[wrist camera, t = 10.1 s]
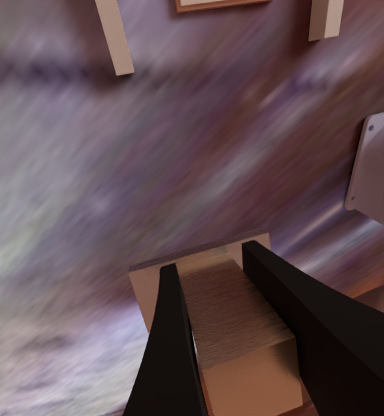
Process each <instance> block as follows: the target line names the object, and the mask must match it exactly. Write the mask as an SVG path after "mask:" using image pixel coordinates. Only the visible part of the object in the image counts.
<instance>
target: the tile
mask: <svg viewBox="0 0 384 416" xmlns="http://www.w3.org/2000/svg"><path fill="white" fill-rule="evenodd" d="M268 1H272V0H175V8H176V14H178V13H185V12H193V11H200V10H208V9H216V8H223V7H231V6H238V5H246V4H253V3H261V2H268Z"/></svg>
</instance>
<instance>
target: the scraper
mask: <svg viewBox="0 0 384 416" xmlns="http://www.w3.org/2000/svg"><path fill="white" fill-rule="evenodd" d="M251 240H256V241H257V242H259V243H260V244H261V245H263V246H264V247H266V248H267V249H269V250H270V251H271V247H270V239H269V232H267V231H266V230H264V229H263V228H260V229H256V230H253V231H249V232H246V233H242V234H239V235H235V236H232V237H228V238H225V239H221V240H218V241H214V242H210V243H207V244H203V245H200V246H196V247H193V248H189V249H186V250H182V251H179V252H175V253H172V254H168V255H165V256H161V257H158V258H154V259H151V260H147V261H144V262H140V263H137V264H133V265H130V266H129V270H128V274H129V277H130V280H131V283H132V286H133V289H134V292H135V295H136V298H137V301H138V304H139V307H140V310H141V313H142V316H143V319H144V322H145V325H146V328H147V331H148V333H150V329H151V325H152V321H153V317H154V312H155V307H156V301H157V295H158V288H159V277H160V268H161V267H162V266H165V265H169V264H172V263H176V267H177V271H178V274H179V278H180V282H181V286H182V289H183V293H184V297H185V301H186V306H187V312H188V316H189V320H190V324H191V328H192V332H193V336H194V340H195V344H196V348H197V352H198V356H199V360H200V364H201V368H202V372H203V376H204V380H205V383H206V387H207V391H208V395H209V398H210V402H211V406H212V410H213V413H214V416H276V415H279V414H281V413H284V412H286V411H289V410H291V409H294V408H296V407H299V406H301V405H303V403H302V394H301V384H300V374H299V364H298V355H297V345H296V337H295V335H294V334H293V333H292V332H291V330H290V329H289V328H288V327H287V325H286V324H285V323H284V322H283V320H282V319H281V318H280V317H279V315H278V314H277V313H276V312H275V310H274V309H273V308H272V306H271V305H270V304H269V303H268V301H267V300H266V299H265V298H264V296H263V295H262V294H261V293H260V291H259V290H258V289H257V288H256V286H255V285H254V284H253V283H252V282H251V281H250V280H249V278H248V277H247V276H246V274H245V273H244V272H243V265H242V244H241V243H244V242H248V241H251Z"/></svg>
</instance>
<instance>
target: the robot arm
mask: <svg viewBox="0 0 384 416" xmlns="http://www.w3.org/2000/svg"><path fill="white" fill-rule="evenodd" d="M344 208H345V209H346V210H353V209H356V210H358V211H359V212H361V213H363V214H365V215H366V216H368V217H370V218H372V219H373V220H375V221H377V222H378V223H380V224H382V225H384V112H383V113H378V114H374V115H370V116H368V117H367V118H366V119H365V121H364V125H363V129H362V133H361V137H360V142H359V146H358V150H357V154H356V158H355V163H354V167H353V171H352V175H351V179H350V184H349V188H348V192H347V196H346V201H345V205H344ZM241 244H242V265H243V272H244V273H245V274H246V276H247V277H248V278H249V280H250V281H251V282H252V283H253V284H254V285H255V286H256V288H257V289H258V290H259V291H260V293H261V294H262V295H263V296H264V298H265V299H266V300H267V301H268V303H269V304H270V305H271V306H272V308H273V309H274V310H275V312H276V313H277V314H278V315H279V317H280V318H281V319H282V320H283V322H284V323H285V324H286V325H287V327H288V328H289V329H290V330H291V332H292V333H293V334H294V335H295V337H296V345H297V355H298V364H299V374H300V377H301V379H302V381H303V383H304V385H305V387H306V389H307V391H308V393H309V395H310V397H311V399H312V401H313V403H314V406H315V407H316V409H317V412H318V414H319V416H384V313H383V312H380V311H378V310H376V309H374V308H371V307H369V306H367V305H365V304H362V303H360V302H358V301H356V300H354V299H352V298H350V297H348V296H346V295H344V294H342V293H340V292H338V291H336V290H334V289H332V288H330V287H328V286H326V285H325V284H323V283H321V282H319V281H318V280H316V279H314V278H312V277H311V276H309V275H307V274H306V273H304V272H302V271H301V270H299V269H298V268H296V267H294V266H293V265H291V264H290V263H288V262H286V261H285V260H283V259H282V258H280V257H279V256H277V255H276V254H275V253H273V252H272V251H270V250H269V249H267V248H266V247H264V246H263V245H261V244H260V243H259V242H257V241H256V240H251V241H248V242H244V243H241ZM123 416H209V415H208V411H207V407H206V403H205V399H204V395H203V391H202V386H201V381H200V376H199V371H198V365H197V359H196V353H195V347H194V341H193V335H192V329H191V324H190V320H189V316H188V312H187V306H186V301H185V297H184V293H183V289H182V286H181V282H180V278H179V274H178V271H177V267H176V263H172V264H169V265H165V266H162V267H161V268H160V277H159V288H158V295H157V301H156V307H155V312H154V317H153V321H152V325H151V329H150V334H149V338H148V341H147V345H146V349H145V352H144V355H143V359H142V362H141V365H140V368H139V371H138V374H137V377H136V380H135V383H134V386H133V389H132V391H131V394H130V397H129V400H128V402H127V405H126V408H125V410H124V413H123Z"/></svg>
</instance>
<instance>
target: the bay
mask: <svg viewBox="0 0 384 416" xmlns="http://www.w3.org/2000/svg"><path fill="white" fill-rule="evenodd" d="M343 1H344V0H312V8H311V18H310V28H309V39H308V41H313V40H319V39H324V38H329V37H334V36H338V35H339V28H340V21H341V15H342V8H343ZM95 2H96V5H97V9H98V12H99V16H100V19H101V23H102V26H103V30H104V33H105V37H106V40H107V44H108V47H109V51H110V54H111V58H112V61H113V65H114V68H115V72H116V75H117V76H119V75H124V74H130V73H134V68H133V64H132V60H131V56H130V52H129V48H128V44H127V40H126V36H125V32H124V28H123V24H122V20H121V16H120V12H119V8H118V4H117V0H95Z"/></svg>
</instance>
